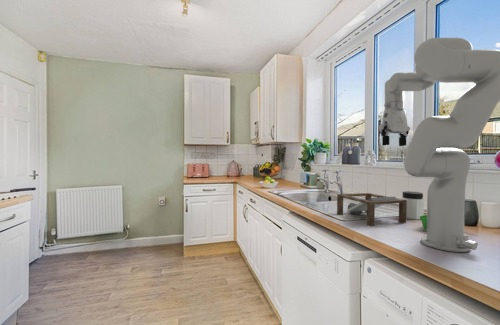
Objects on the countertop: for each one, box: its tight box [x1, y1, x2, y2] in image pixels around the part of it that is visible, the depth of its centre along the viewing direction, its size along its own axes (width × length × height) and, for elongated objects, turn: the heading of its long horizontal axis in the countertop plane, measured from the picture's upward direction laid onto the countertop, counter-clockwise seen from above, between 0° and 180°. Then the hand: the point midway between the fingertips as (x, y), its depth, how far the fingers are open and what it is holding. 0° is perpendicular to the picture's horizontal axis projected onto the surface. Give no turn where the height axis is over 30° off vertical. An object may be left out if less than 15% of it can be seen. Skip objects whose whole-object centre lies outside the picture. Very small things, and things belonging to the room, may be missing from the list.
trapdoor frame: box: [336, 192, 407, 227], centre depth 115 cm, size 22×19×10 cm
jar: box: [401, 190, 425, 221], centre depth 117 cm, size 9×8×12 cm
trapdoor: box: [346, 196, 397, 213], centre depth 115 cm, size 17×14×2 cm
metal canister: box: [347, 202, 364, 216], centre depth 125 cm, size 5×5×5 cm
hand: (394, 145), depth 110 cm, fingers open, 9 cm apart
